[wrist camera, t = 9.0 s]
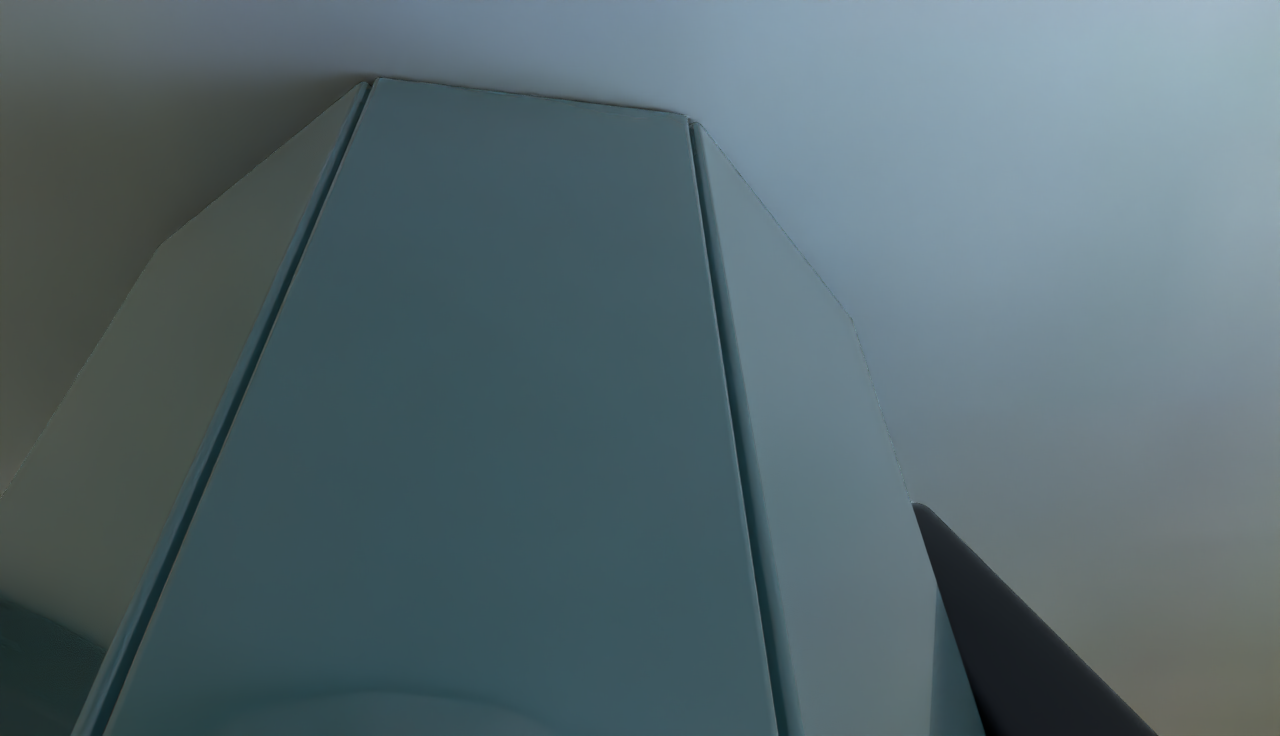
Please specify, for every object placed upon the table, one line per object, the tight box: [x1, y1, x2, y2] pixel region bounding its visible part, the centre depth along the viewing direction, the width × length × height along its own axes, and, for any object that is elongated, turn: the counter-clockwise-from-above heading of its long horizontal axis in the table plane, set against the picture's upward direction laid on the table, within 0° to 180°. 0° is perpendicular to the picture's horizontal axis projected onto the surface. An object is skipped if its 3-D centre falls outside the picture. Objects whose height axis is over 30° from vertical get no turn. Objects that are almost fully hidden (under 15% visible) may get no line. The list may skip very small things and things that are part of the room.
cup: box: [0, 77, 986, 736], centre depth 8 cm, size 6×6×7 cm
